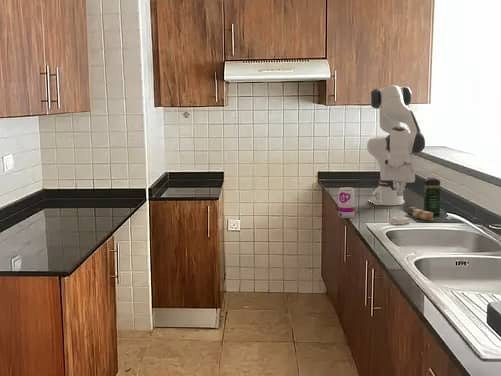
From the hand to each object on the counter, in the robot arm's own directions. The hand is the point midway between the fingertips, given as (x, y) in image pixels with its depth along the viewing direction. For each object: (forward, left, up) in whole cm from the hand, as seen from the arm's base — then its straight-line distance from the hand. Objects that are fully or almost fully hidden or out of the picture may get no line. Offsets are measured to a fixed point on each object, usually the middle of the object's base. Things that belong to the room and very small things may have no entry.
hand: (399, 190), depth 274 cm
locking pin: (0, 0, -2) cm, 2 cm away
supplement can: (-28, -13, -16) cm, 35 cm away
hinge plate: (-8, +17, -16) cm, 25 cm away
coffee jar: (-14, +29, -16) cm, 36 cm away
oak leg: (-8, +17, -15) cm, 24 cm away
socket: (0, 0, -16) cm, 16 cm away
